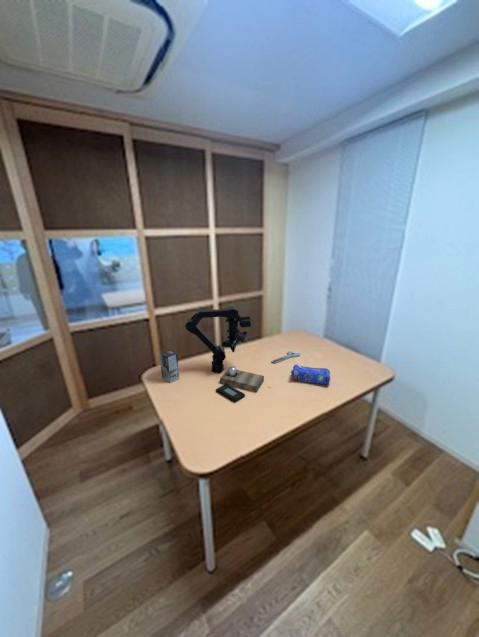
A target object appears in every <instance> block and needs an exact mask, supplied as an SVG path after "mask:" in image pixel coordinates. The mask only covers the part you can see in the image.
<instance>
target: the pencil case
mask: <svg viewBox="0 0 479 637" xmlns="http://www.w3.org/2000/svg"><path fill="white" fill-rule="evenodd" d="M290 374H291V379H292V380H294V381H298V382H299V381H300V382H303V383H310V384H319V385H320V384H321V385H328V386H329V385H330V382H331V372H330V369H328V368H324V367H321V368H320V367H309V366H301V365H299V363H298V364H294V365H293V368H292V369H291V370H290Z"/></svg>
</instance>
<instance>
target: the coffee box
mask: <svg viewBox="0 0 479 637" xmlns="http://www.w3.org/2000/svg"><path fill="white" fill-rule="evenodd" d="M178 356H179V355H178V353H177V352H175V351H172V350H171V349H166V350H164V351H160V352H159V361H160V370H161V378H162V379H164V380H165V381H167V382H168V383H170V384H171V383H173V382H175V381H178V380H180V377H179V376H180V373H179V372H180V371H179V359H178Z"/></svg>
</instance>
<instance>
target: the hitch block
mask: <svg viewBox="0 0 479 637" xmlns="http://www.w3.org/2000/svg"><path fill="white" fill-rule="evenodd" d="M235 371H236V377H235V378H234V377H230V376H229V368H227V370H225V372H224V373H223V374H222V375H221V376H220V378H219V381H220V382H219V384H222V385H224V384H228V385H229V386H231V387H233V388H239V389H243V390H245V391H249V392H250V391H251V392H254V393H258V392H259V389H261V386H262V385H263V384H264V381H265V375H262V374H257V373H253V372H249V371H243V370H240V369H235Z"/></svg>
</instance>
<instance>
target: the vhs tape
mask: <svg viewBox="0 0 479 637" xmlns="http://www.w3.org/2000/svg"><path fill="white" fill-rule="evenodd" d="M215 392H216V393H218V394H219V395H220V396H223V397H225V398H226V399H227V400H230V401H231V402H233V403H234V404H236V403H238V402H240V401H241V400H242V399H244V398H245V397H246V394H245V393H244V392H242V391H240V390H239V389H237V388H236V387H234V386H230V385H228V384H222V385H221V386H219V387H217V388H216V389H215Z"/></svg>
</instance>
